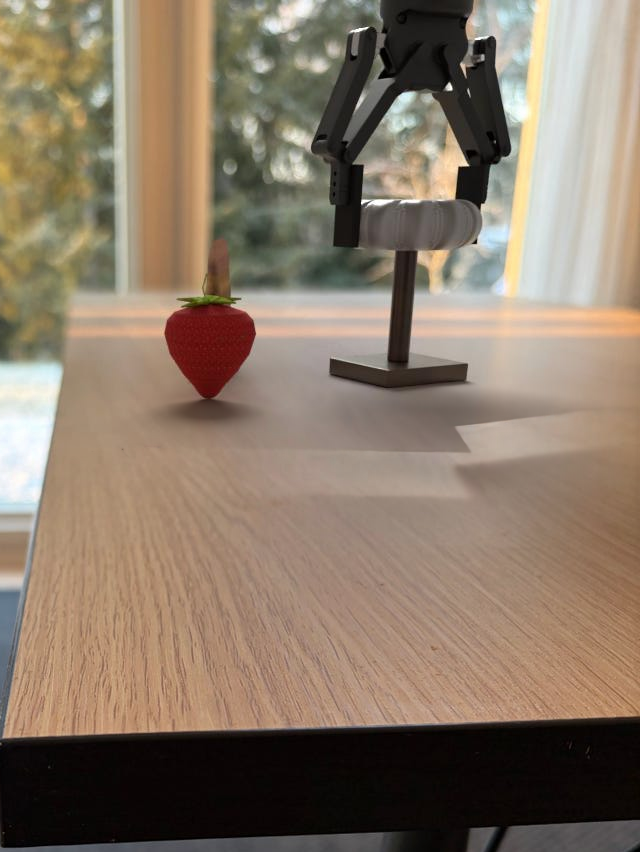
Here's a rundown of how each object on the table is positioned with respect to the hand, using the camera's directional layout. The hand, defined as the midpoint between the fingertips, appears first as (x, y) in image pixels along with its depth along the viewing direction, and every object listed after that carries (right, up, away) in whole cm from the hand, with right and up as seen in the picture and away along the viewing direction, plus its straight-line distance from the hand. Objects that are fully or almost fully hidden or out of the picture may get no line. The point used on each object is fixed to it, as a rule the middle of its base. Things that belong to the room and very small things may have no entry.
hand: (406, 245), depth 94 cm
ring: (0, +2, -1) cm, 2 cm away
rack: (0, -11, +4) cm, 11 cm away
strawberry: (-18, -15, -6) cm, 24 cm away
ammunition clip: (-16, -9, +8) cm, 21 cm away
